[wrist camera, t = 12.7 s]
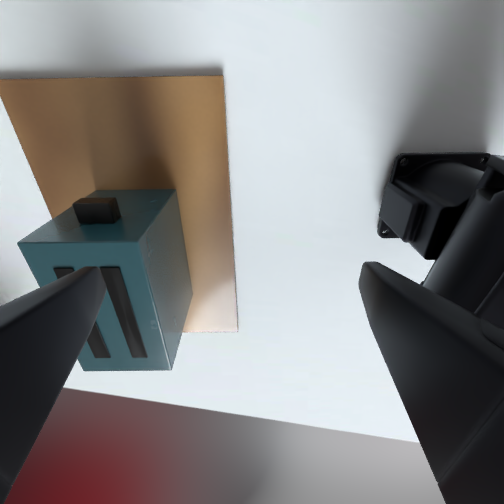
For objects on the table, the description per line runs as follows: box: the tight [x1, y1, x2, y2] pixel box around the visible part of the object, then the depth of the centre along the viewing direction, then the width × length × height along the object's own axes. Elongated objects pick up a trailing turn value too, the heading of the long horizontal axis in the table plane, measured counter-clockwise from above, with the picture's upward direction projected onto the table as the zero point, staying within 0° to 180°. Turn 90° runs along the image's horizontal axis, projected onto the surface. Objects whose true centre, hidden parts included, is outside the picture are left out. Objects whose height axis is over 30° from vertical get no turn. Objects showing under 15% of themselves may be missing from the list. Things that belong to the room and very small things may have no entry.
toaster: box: [17, 189, 193, 371], centre depth 19 cm, size 11×6×8 cm, turn 1°
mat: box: [0, 75, 238, 332], centre depth 22 cm, size 14×22×1 cm, turn 1°
